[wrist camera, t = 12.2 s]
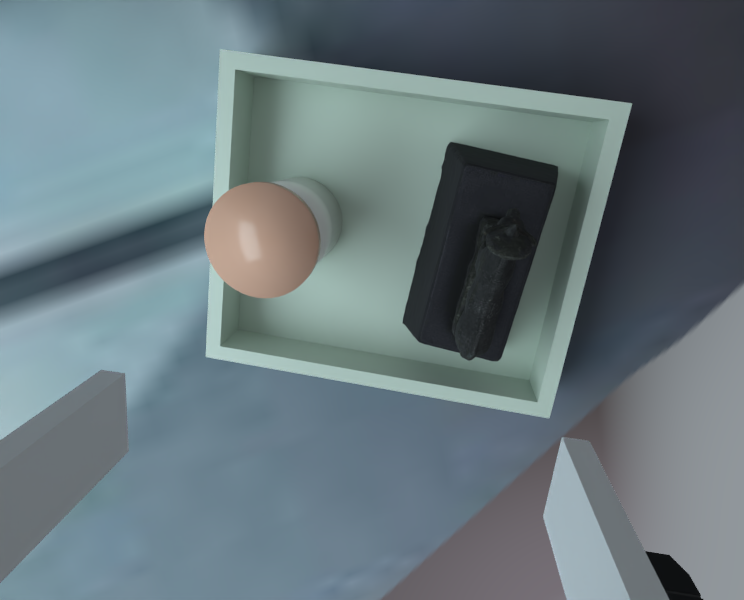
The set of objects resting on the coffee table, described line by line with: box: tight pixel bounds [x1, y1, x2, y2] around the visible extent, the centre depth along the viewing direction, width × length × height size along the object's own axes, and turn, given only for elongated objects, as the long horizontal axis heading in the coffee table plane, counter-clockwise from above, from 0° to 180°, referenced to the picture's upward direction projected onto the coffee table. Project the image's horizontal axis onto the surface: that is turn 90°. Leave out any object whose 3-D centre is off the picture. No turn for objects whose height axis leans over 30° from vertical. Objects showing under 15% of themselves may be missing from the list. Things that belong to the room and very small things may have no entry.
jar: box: [204, 177, 342, 298], centre depth 33 cm, size 6×6×9 cm
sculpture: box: [403, 142, 558, 361], centre depth 29 cm, size 8×13×15 cm, turn 165°
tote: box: [206, 49, 632, 418], centre depth 36 cm, size 20×24×4 cm
